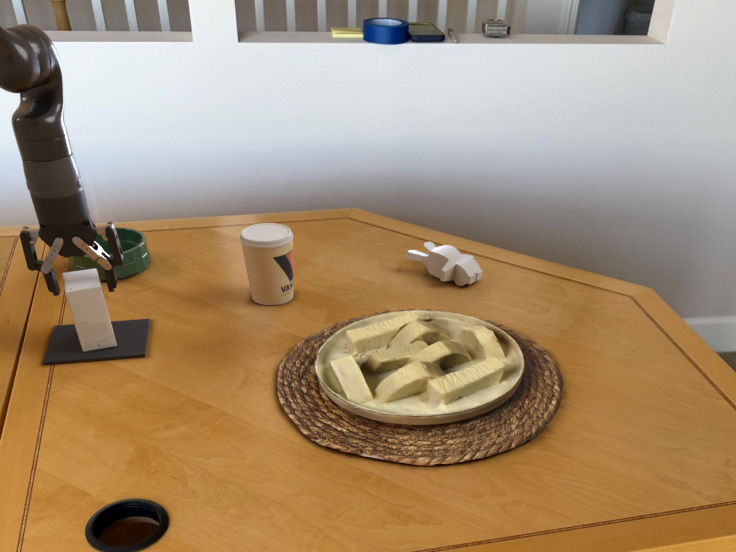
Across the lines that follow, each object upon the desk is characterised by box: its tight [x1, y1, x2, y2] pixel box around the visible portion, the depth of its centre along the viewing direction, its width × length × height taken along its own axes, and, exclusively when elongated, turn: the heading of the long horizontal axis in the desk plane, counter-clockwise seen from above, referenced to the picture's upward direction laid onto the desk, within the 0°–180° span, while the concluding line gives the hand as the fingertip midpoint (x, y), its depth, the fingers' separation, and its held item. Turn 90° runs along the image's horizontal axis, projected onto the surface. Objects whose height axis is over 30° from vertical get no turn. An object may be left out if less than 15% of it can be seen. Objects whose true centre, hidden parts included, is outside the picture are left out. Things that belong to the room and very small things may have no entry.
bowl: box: [66, 226, 151, 282], centre depth 152 cm, size 15×15×5 cm
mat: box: [42, 318, 151, 366], centre depth 130 cm, size 16×13×1 cm
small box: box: [61, 269, 117, 352], centre depth 127 cm, size 8×6×10 cm
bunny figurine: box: [405, 241, 484, 287], centre depth 150 cm, size 10×5×15 cm
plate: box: [276, 308, 564, 467], centre depth 120 cm, size 45×45×7 cm
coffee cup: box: [239, 222, 294, 306], centre depth 140 cm, size 9×9×12 cm
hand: (84, 291), depth 125 cm, fingers open, 8 cm apart
